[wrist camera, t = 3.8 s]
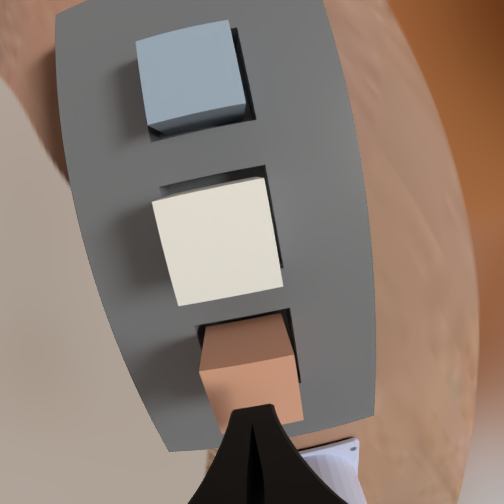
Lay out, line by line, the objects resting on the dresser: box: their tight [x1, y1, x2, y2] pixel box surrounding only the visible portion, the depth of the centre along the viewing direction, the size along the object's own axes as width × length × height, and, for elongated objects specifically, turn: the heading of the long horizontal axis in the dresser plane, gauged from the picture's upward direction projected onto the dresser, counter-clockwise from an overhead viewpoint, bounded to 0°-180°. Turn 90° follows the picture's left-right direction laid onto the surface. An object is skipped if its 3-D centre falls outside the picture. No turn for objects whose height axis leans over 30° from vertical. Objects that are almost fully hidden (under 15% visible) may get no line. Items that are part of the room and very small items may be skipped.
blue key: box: [136, 20, 246, 136], centre depth 11 cm, size 3×3×4 cm
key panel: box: [55, 0, 376, 452], centre depth 14 cm, size 24×12×3 cm, turn 11°
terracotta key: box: [199, 313, 304, 434], centre depth 13 cm, size 3×3×4 cm
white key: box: [152, 177, 283, 306], centre depth 11 cm, size 3×3×4 cm
